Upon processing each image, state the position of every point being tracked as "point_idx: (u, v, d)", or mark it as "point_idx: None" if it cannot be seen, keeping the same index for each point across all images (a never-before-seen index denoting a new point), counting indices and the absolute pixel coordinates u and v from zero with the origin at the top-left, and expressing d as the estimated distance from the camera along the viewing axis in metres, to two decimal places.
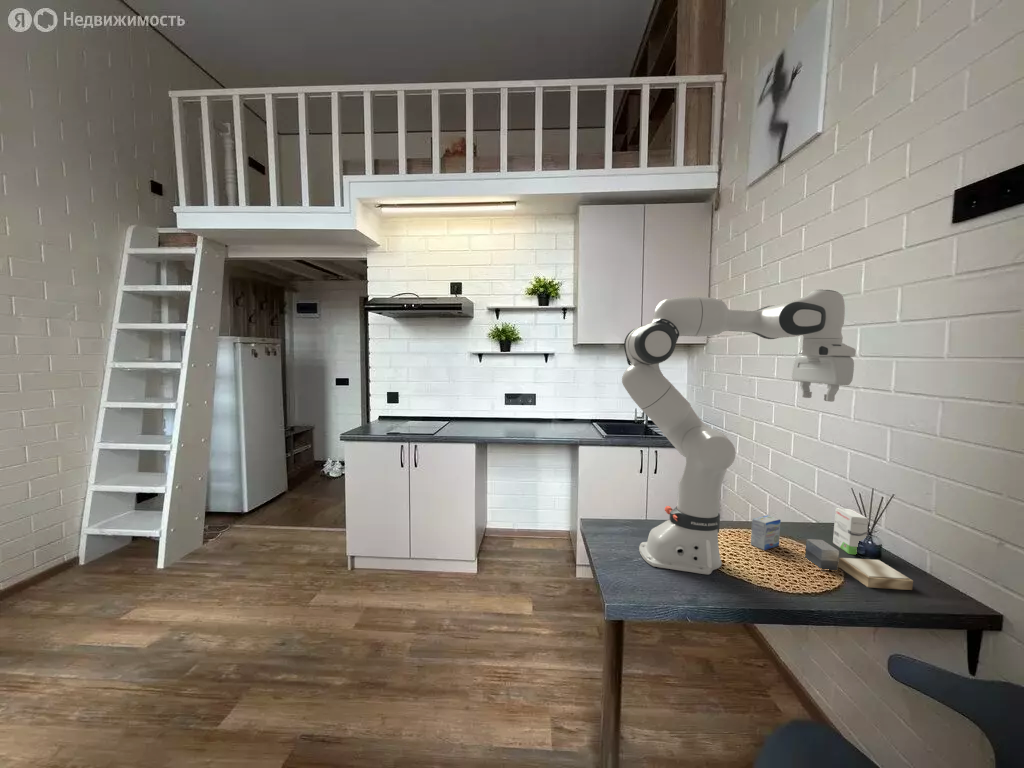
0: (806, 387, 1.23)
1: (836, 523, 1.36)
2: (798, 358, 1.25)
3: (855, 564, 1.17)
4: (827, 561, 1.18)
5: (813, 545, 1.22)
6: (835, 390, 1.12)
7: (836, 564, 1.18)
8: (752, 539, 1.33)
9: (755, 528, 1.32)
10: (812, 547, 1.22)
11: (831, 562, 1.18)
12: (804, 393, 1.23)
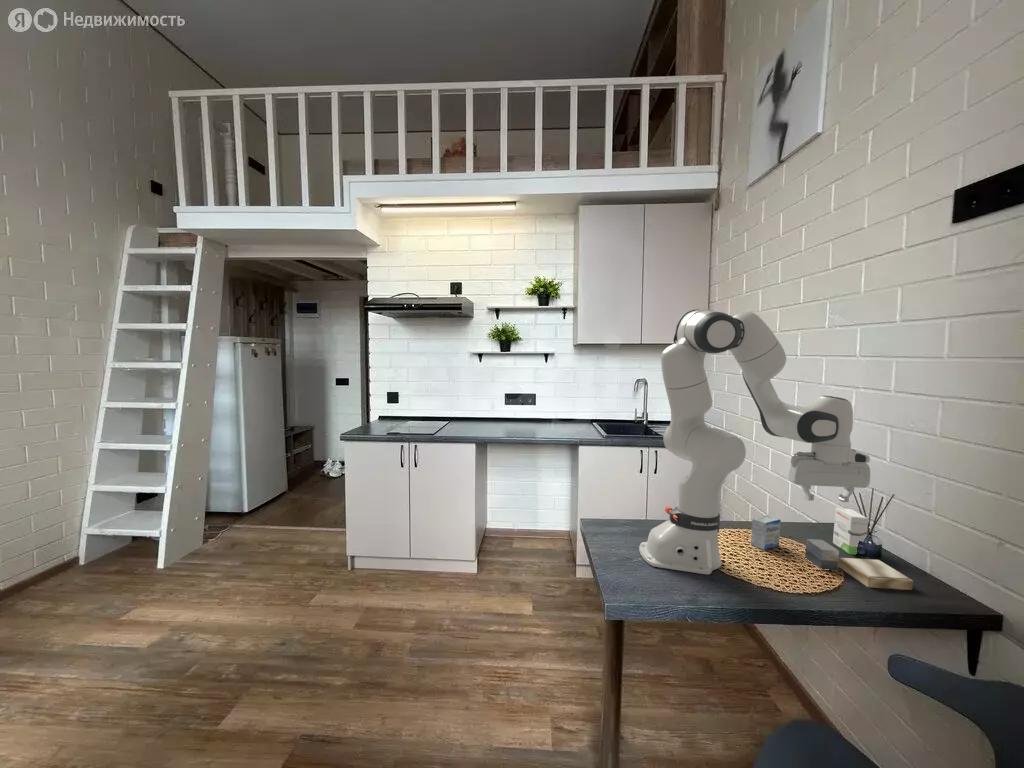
0: None
1: (836, 523, 1.36)
2: (807, 462, 1.19)
3: (855, 564, 1.17)
4: (827, 561, 1.18)
5: (813, 545, 1.22)
6: None
7: (836, 564, 1.18)
8: (752, 539, 1.33)
9: (755, 528, 1.32)
10: (812, 547, 1.22)
11: (831, 562, 1.18)
12: (812, 496, 1.20)
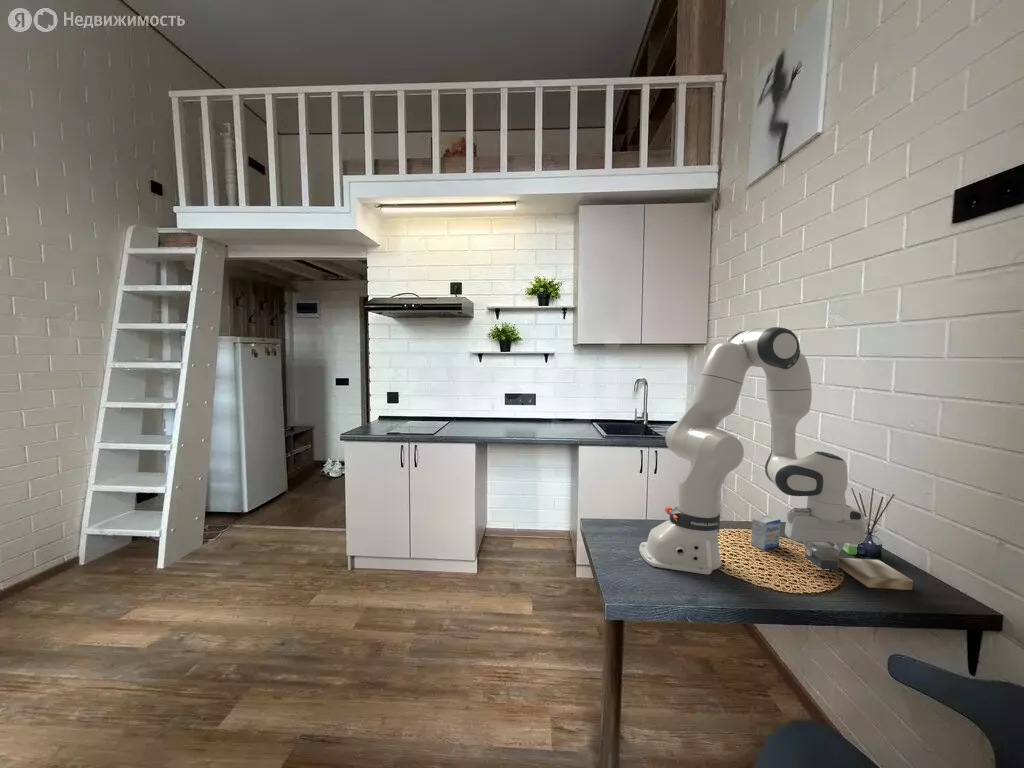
0: None
1: None
2: (803, 518, 1.20)
3: (855, 564, 1.17)
4: (827, 561, 1.18)
5: (813, 545, 1.22)
6: None
7: (836, 564, 1.18)
8: (752, 539, 1.33)
9: (755, 528, 1.32)
10: (812, 547, 1.22)
11: (831, 562, 1.18)
12: (813, 552, 1.21)
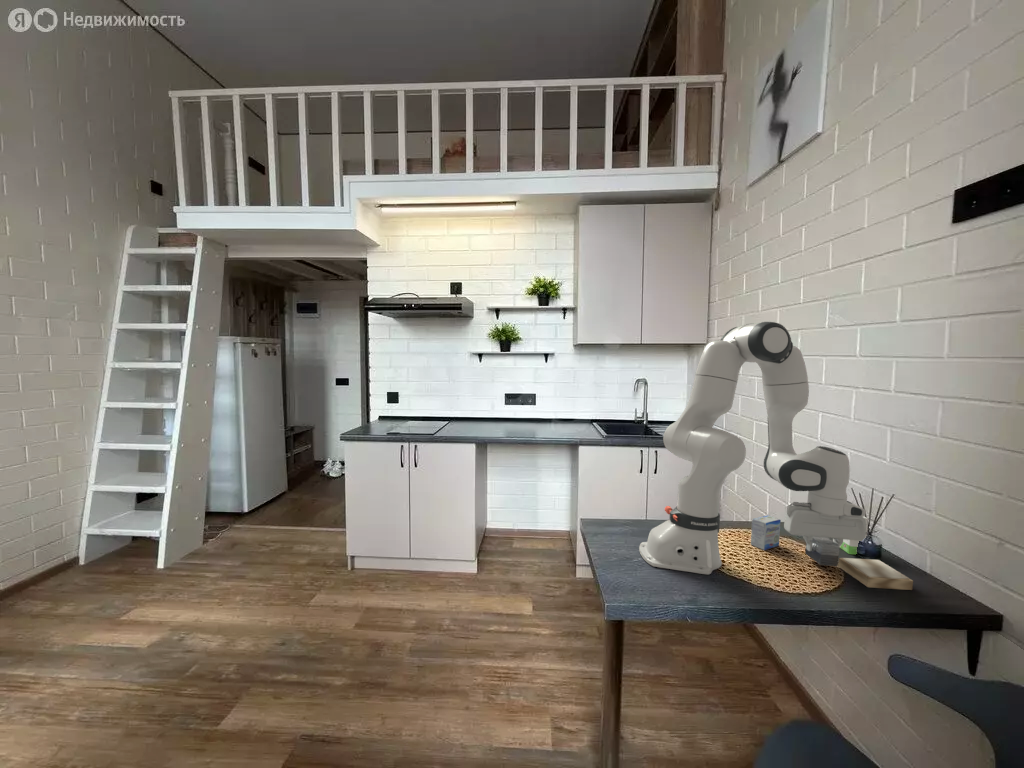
0: None
1: None
2: (802, 512, 1.19)
3: (855, 564, 1.17)
4: (827, 556, 1.18)
5: (813, 539, 1.21)
6: None
7: (836, 559, 1.17)
8: (752, 539, 1.33)
9: (755, 528, 1.32)
10: (813, 542, 1.22)
11: (831, 557, 1.17)
12: (813, 547, 1.20)
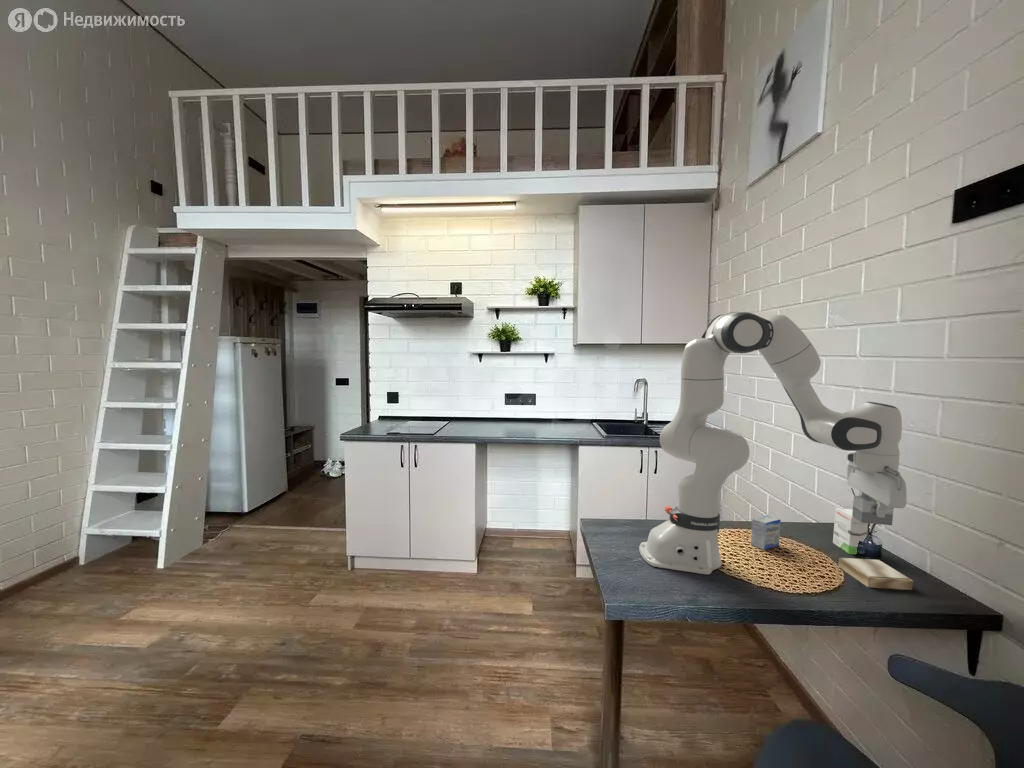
0: None
1: (836, 523, 1.36)
2: None
3: (855, 564, 1.17)
4: None
5: None
6: None
7: None
8: (752, 539, 1.33)
9: (755, 528, 1.32)
10: (875, 506, 1.13)
11: None
12: None
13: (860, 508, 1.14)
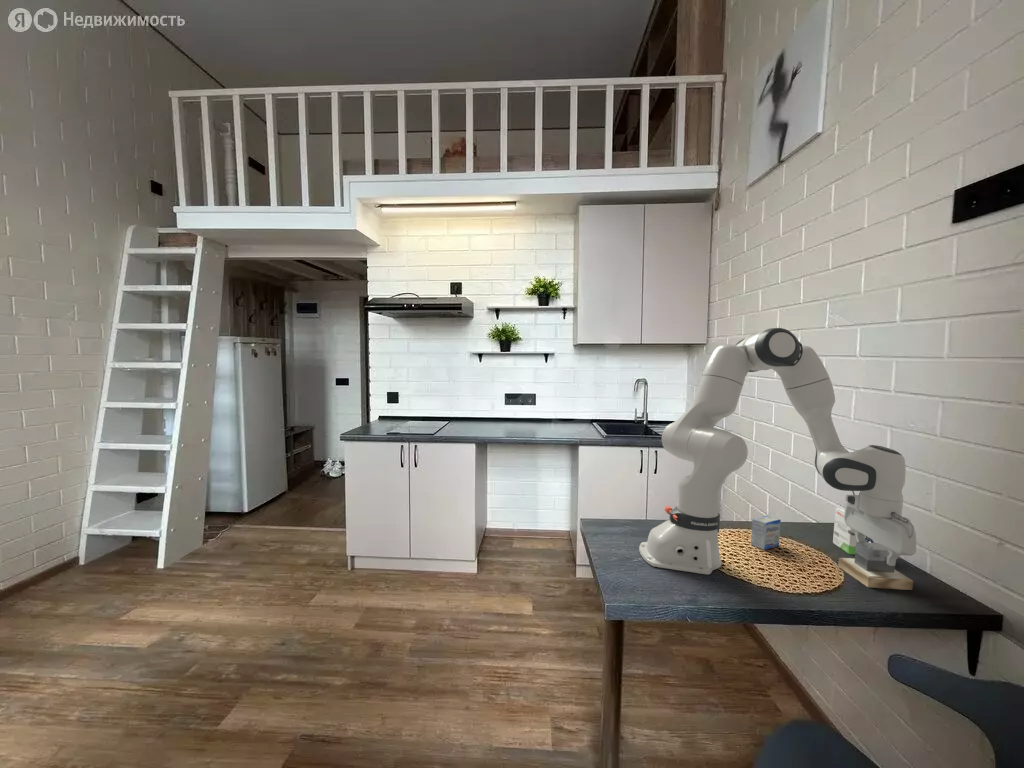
0: None
1: (836, 523, 1.36)
2: None
3: (855, 564, 1.17)
4: None
5: (881, 551, 1.13)
6: None
7: None
8: (752, 539, 1.33)
9: (755, 528, 1.32)
10: (880, 554, 1.13)
11: None
12: None
13: (865, 556, 1.14)
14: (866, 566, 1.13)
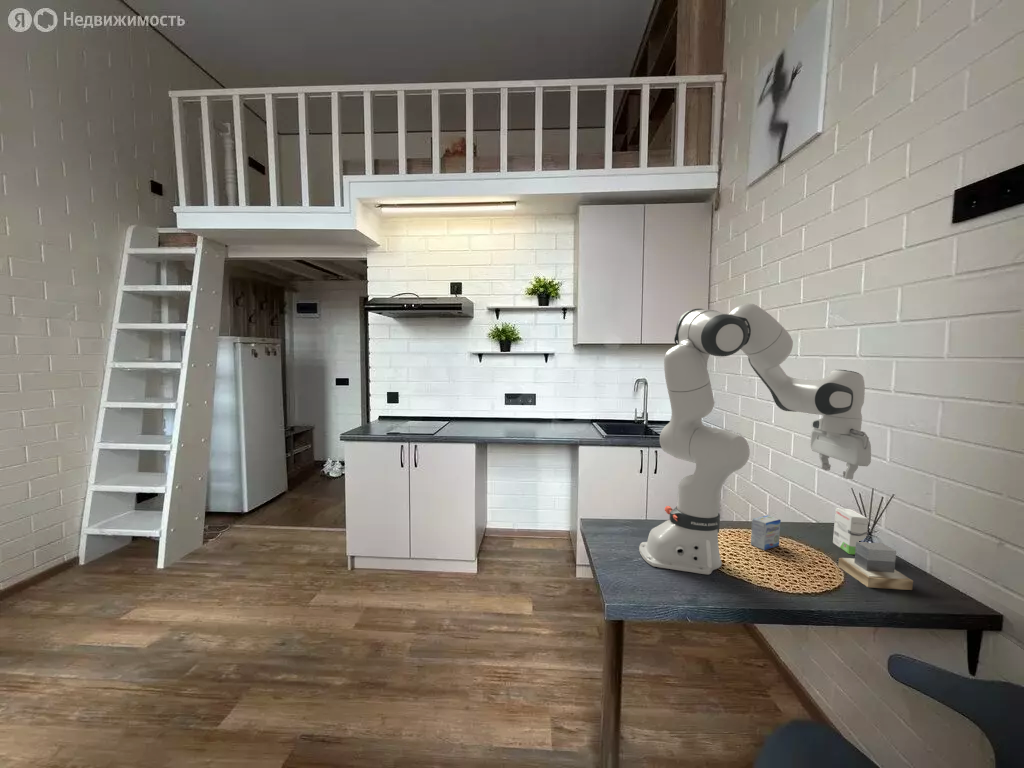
0: None
1: (836, 523, 1.36)
2: None
3: (855, 564, 1.17)
4: None
5: (881, 551, 1.13)
6: None
7: None
8: (752, 539, 1.33)
9: (755, 528, 1.32)
10: (880, 554, 1.13)
11: None
12: None
13: (865, 556, 1.14)
14: (866, 566, 1.13)
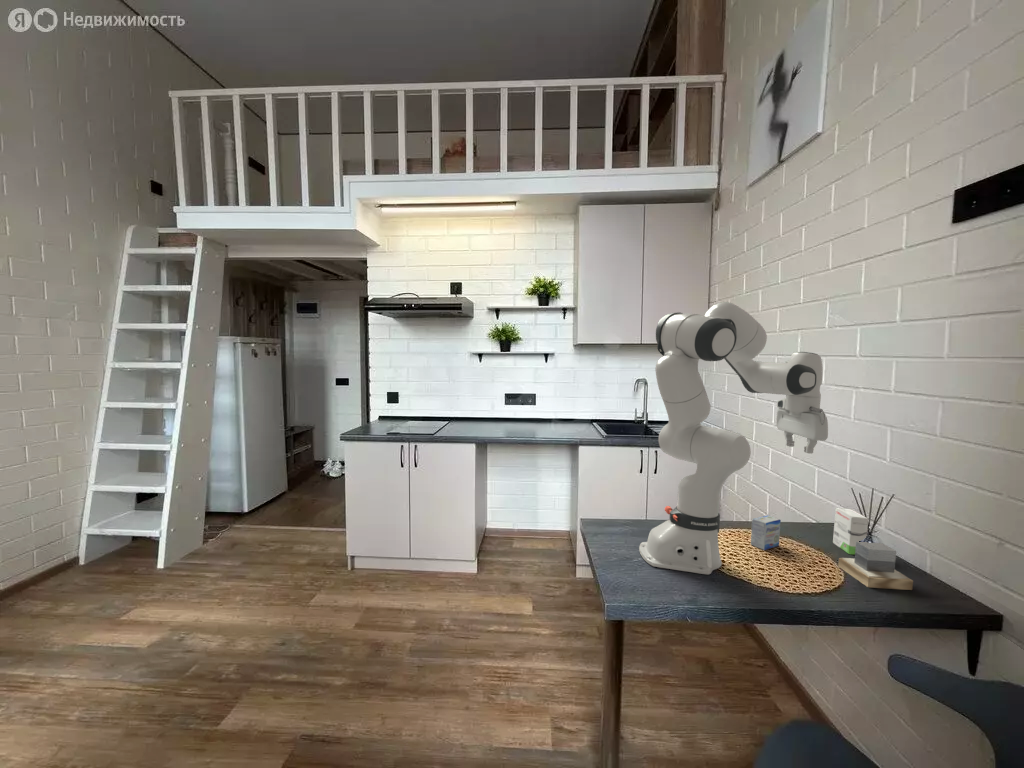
0: None
1: (836, 523, 1.36)
2: None
3: (855, 564, 1.17)
4: None
5: (881, 551, 1.13)
6: None
7: None
8: (752, 539, 1.33)
9: (755, 528, 1.32)
10: (880, 554, 1.13)
11: None
12: None
13: (865, 556, 1.14)
14: (866, 566, 1.13)
